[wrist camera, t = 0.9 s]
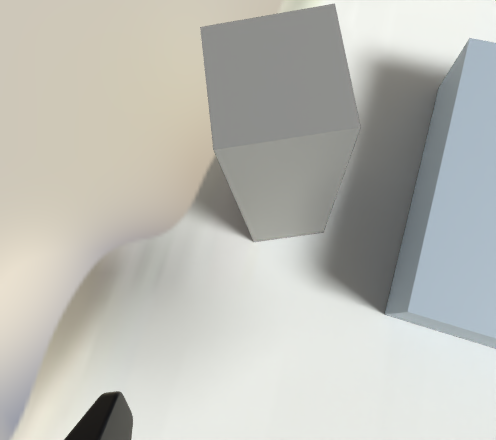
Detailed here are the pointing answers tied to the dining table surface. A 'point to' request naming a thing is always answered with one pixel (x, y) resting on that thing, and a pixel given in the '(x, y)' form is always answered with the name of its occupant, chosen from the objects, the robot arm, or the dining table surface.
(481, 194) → the socket block
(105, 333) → the dining table surface
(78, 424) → the robot arm
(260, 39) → the gray block
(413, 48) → the dining table surface
